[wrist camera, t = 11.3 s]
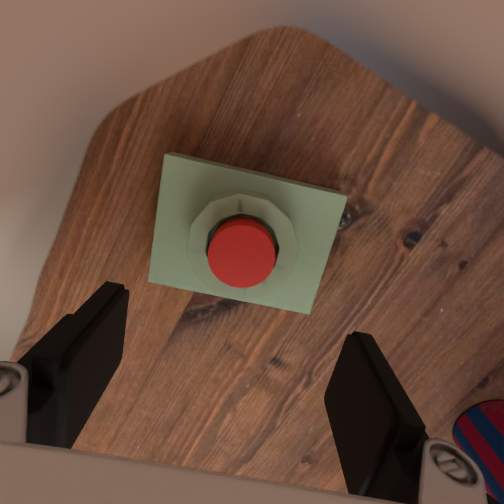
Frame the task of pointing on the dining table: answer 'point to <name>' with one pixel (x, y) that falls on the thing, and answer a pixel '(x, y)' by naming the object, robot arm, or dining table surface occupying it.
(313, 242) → the switch box
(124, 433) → the dining table surface
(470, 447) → the cup
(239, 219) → the button
